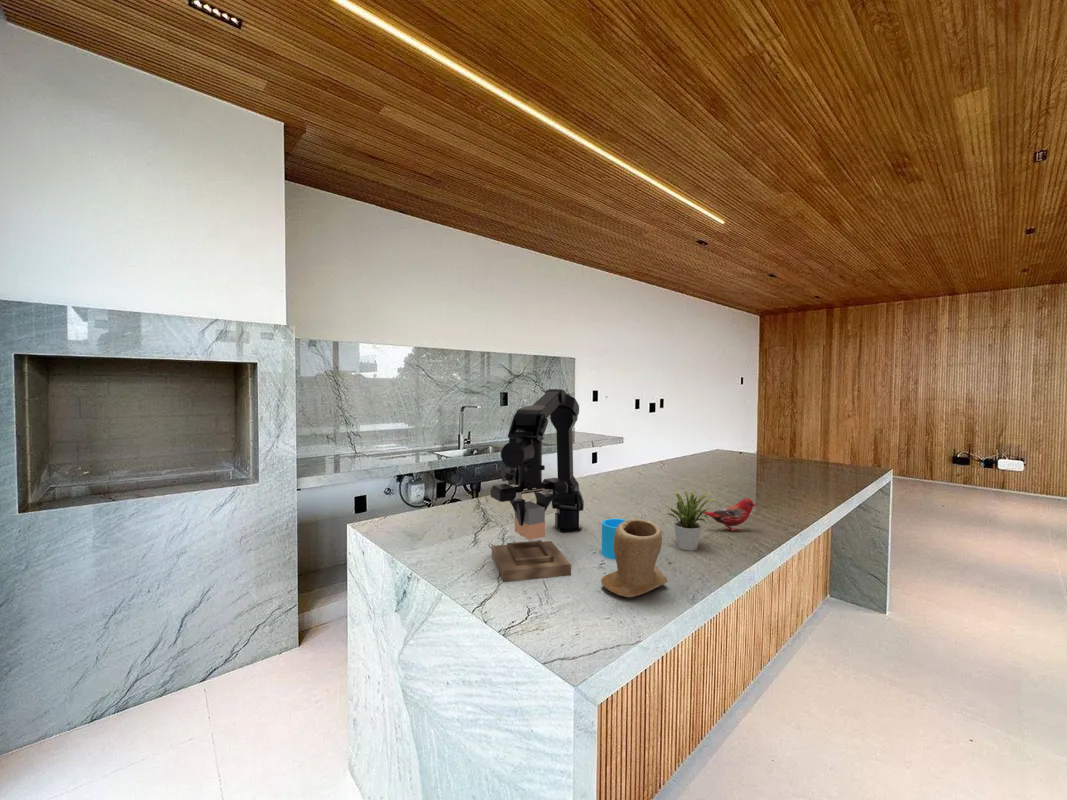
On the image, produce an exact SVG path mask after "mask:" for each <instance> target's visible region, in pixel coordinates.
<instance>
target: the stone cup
mask: <svg viewBox="0 0 1067 800" xmlns="http://www.w3.org/2000/svg"><path fill="white" fill-rule="evenodd" d="M625 520H626V521H624V522H622V523H621V524H619V525H618V527H617V528H616V531H615V536H614V555H615V559H616V560H615V563H616V567H617V570H615V571H612V572H610V573H608V574H605V575H604V576H602V577H601V578H600V582H601V585H602V586H603V587H604V588H605V589H606V590H607V591H609V592H611V593H612V594H615V595H617V596H621V597H625V598H633V597H638V596H640V595H644V594H646V593H649V592H651V591H652V590H655V589H656V588H658V587H661V586H663V585H665V584H667V583H668V582H669V580H668V578H667V576H666V574H664V572H662V570H661V569H659V567H658V566H657V565H656V564H657V560H658V558H659V555H660V553H661V550H662V544H663V538H662V531H661V528H660V527H659V526H658V525H657V524H656V523H654V522H652V521H651V520H648V519H643V518H628V519H625Z"/></svg>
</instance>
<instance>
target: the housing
mask: <svg viewBox="0 0 1067 800" xmlns="http://www.w3.org/2000/svg"><path fill="white" fill-rule="evenodd" d="M545 517H546V511H545V508H544V507H542V506H540V505H538V504H536V503H535V502H533V501H531V500H530V501H525V510H524V522H523V526H520V525H519V522H518V520H517V517H516V514H515V513H514V532H515V533H517V534H518V535H520V536H522V537H523V538H525V539H527V540H528V541H531V540H534V539H540V538H544V537H545V538H546V519H545Z"/></svg>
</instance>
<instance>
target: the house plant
mask: <svg viewBox="0 0 1067 800" xmlns="http://www.w3.org/2000/svg"><path fill="white" fill-rule="evenodd" d="M681 489H682V490H683V492H684V494H685V497H686V499H685V500H686V503H685V504H684V501H683V498H682V496H681V495H680V494H679V493H678V492H677V491H675V490H673V489H672V491H673V492H674V494H675V497H676V499H677V502H676V507H675V508H676V509H677V510H675V509H673V508H671V507H666V508H667V509H668V510H670V511H671V512H672V513H674V514H672V513H671V512H669V513H667V515H668V516H672V517H674V518H675V519H676V520H677V521H675V522H674V523H673V526H674V532H675V539H676V546H677V548H678V549H681V550H684V551H691V552H692V551H696V550H698V545H699V541H700V537H701V532H702V531H701V530H702V525H701V524H700V523H698V522H697V521H703V522H706V520H705V519H704V518H706V519H709V515H706V514H703V513H705V511H706V512H707V510H710V509H712V508H709V507H708V508H705V509H703V510H702V508H703V507H704V506H705V505H706V504H707V503H708V502H709V501H716V499H714V498H711V499H710V498H709V499H706V500H704V498H706V497H707V496H709V495H711V494H713V492H707V493H704V494H703V495H702V496H698V495H697V496H696V497H695V493H694V491H693V489H691V490H690V492H689V494H690V496H689V495H688V493H687V491H686V490H685V488H682V487H681ZM664 496H666V497H668V498H669V495H666V494H664ZM697 498H698V499H697ZM702 500H704V502H703V503H701V502H702ZM700 503H701V504H700ZM699 505H700V506H699ZM698 506H699V507H698ZM700 511H702V512H701V513H700ZM700 517H704V518H700ZM678 518H679V519H678Z"/></svg>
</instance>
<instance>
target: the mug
mask: <svg viewBox="0 0 1067 800" xmlns="http://www.w3.org/2000/svg"><path fill="white" fill-rule="evenodd" d="M626 520H627V519H623V518H607V519H604V520H603V521H602V522H601V555H602V556H603V557H604V558H607V559H610V560H615V561H616V559H615V555H614V536H615V531H616V528H617V527H618V525H619V524H621V523H622V522H624V521H626Z"/></svg>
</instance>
